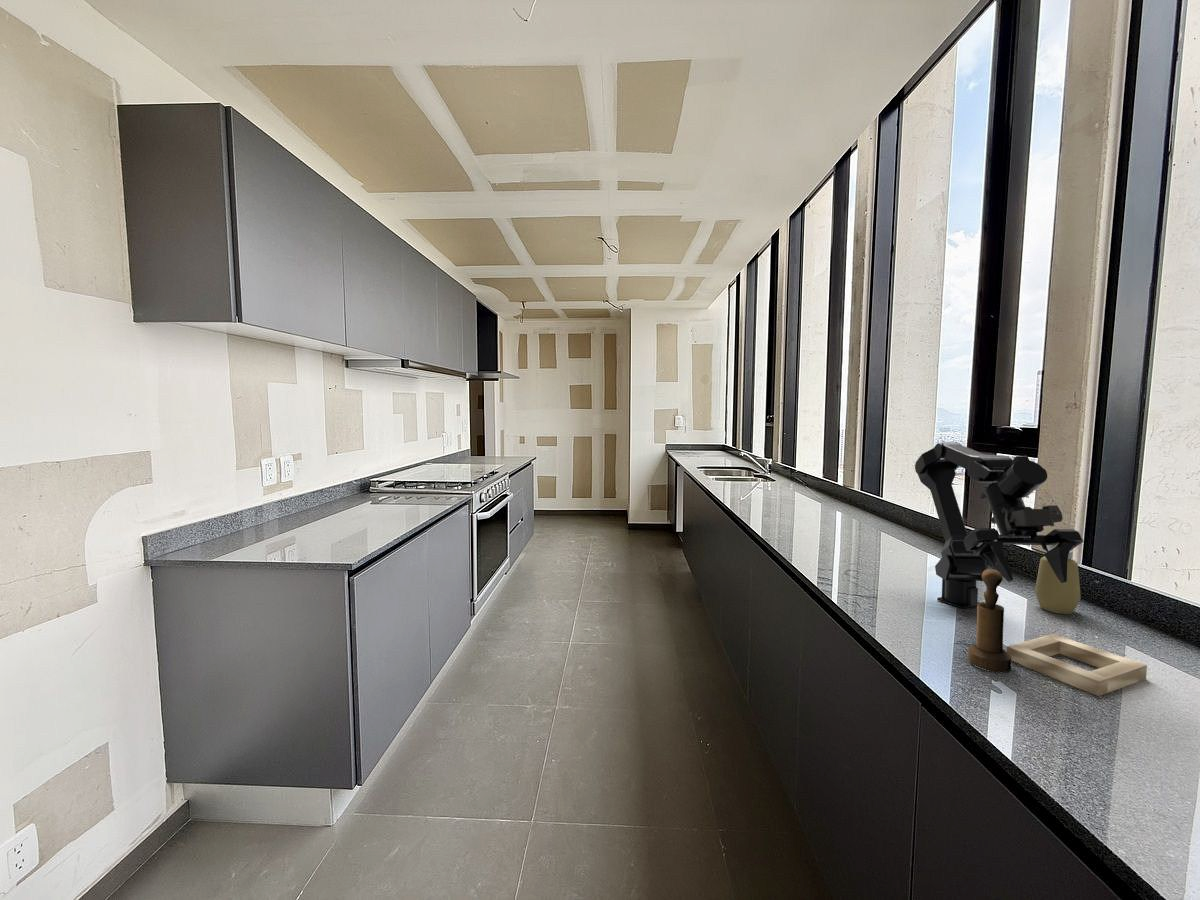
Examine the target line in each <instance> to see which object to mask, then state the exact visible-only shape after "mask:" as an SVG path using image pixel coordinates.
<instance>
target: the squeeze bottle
mask: <svg viewBox="0 0 1200 900" xmlns="http://www.w3.org/2000/svg"><path fill="white" fill-rule="evenodd" d="M1045 553H1047V551H1045ZM1073 554H1074V552H1073V550H1071V551H1070V552H1069V555H1068V561H1067V582H1065V583H1061V582H1060V581H1059V579H1058V578H1057V576H1056V575H1055V573H1054V571H1053V569H1052V568H1051V566H1050V564H1049V562H1048V561H1047V559H1046V557H1045V555H1044V556H1042V557H1041V558H1040V560H1039V565H1038V566H1039V567H1038V570H1037V576H1036V577H1037V578H1036V583H1035V587H1034V593H1035V596H1036V599H1037V601H1038V603H1039V604H1038V605H1039V607H1040V608H1041V609H1043V610H1045V611H1048V612H1051V613H1056V614H1064V615H1070V614H1073V613H1074V611H1076V608H1077V607H1078V604H1079V603H1080V601H1081V599H1082V597H1081V587H1080V585H1081V584H1080V574H1079V573H1080V572H1079V563H1078V562H1077V561H1075V560H1074V559H1073Z"/></svg>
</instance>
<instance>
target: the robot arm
mask: <svg viewBox="0 0 1200 900" xmlns="http://www.w3.org/2000/svg"><path fill="white" fill-rule="evenodd" d="M959 467H961V468H963V469H965V470H967V475H968V477H970V478H971V479H972V480H973V481H974V482H976V483H990V484H989V485H988V486H985V487H983V491H982V493H980V497H979V498H980V500H987V504H988V506H989V509H990V511H991V513H992V517H991V518H990V521H991V524H995V525H996V527H997V529H996V528H995V527H994V528H992V527H991V528H990V527H989V528H987V527H985V528H984V527H979V528H978V527H975V528H974V529H973V530H972V531H971V532H970V533H968V531H967V528H966V525H965V522H964V518H963V517H962V513H961V510H960V507H959V504H958V501H957V497H956V494H955V491H954V487H953V482H954V479H955V477H956V475H957V473H956V471H957V469H959ZM914 471H915V473H916V474H917V476H918V478H919V481H920V483H921V484H922V485H924V486H925V487H926V488H927V489H929V490H930V494H931V497H932V500H933V504H934V506H935V511H936V513H937V518H938V520H939V524H940V527H941V531H942V534H943V537H944V541H945V542H944V545H943V547H942V549H941V552H940V554H941V558H940V560H938V562H937V563H936V564H935V566H934V569H935V575H936V576H937V577H939V578H941V596H940V597H937V601H940V602H943V603H945V604H947V605H951V606H954V607H957V608H959V609H967V608H971V607H976V606H977V604H978V603H981V602H980V601H978V598H979V596H978V594H979V588H978V587H977V582H984V581H983V579H982V573H983V572H984V571H985V570H986V569H988V564H989V565H990V566H991V567H993V569H994V570H997V571H999V572H1000V573H1001V575H1002V578H1004V579H1005V580H1006V581H1007V582H1008V583H1011V582H1013V581H1014V577H1013V573H1012V570H1011V568H1010V565H1009V563H1008V561H1007V558H1006V556H1005V554H1004V553H1005V552H1004V545H1005V546H1006V545H1011V546H1014V545H1016V546H1018V545H1019V546H1020V545H1021V546H1041V547H1042V550H1044V551H1045V553H1044V554H1043V555H1044V556H1045V557H1046V559H1047V561H1048V562H1049V564H1050V566H1051V568H1052V569H1053V571H1054V573H1055V575H1056V576H1057V578H1058V579H1059V581H1060V582H1061V583H1065V582H1067V561H1068V555H1069V552H1070V551H1073V550H1074V549H1075V548H1077V547H1078V546H1079V545H1081V544H1082V543H1084V538H1083V537H1082V535H1081V533H1080V532H1079V531H1078V530H1076V529H1073V528H1072V529H1071V528H1069V529H1068V528H1053V529H1052V530H1051V531H1049V532H1048V533H1047V534H1038V533H1041V532H1043V531H1044V530H1045V528H1044V527H1048V526H1050V527H1055V523H1060V522H1062V521H1063V519H1064V516H1063V513H1062V511H1061V509H1060V507H1059V506H1058V505H1043V506H1042V507H1041V508H1033V507H1031V506H1026V505H1025V503H1024V499H1023V498H1027V497H1029V496H1030V495H1031V494H1032V493H1033V492H1034V491H1035V490H1036V489H1038V488H1039V487H1040V486H1042V484H1043V483H1045V482H1046V481H1047V480H1048V472H1047V470H1046V468H1044V467H1043V466H1042V465H1041V464H1039V463H1037V462H1036V461H1034V460H1033V461H1032V460H1030V458H1029V456H1028V455H1016V456H1015V457H1014V458H1012V457H1010V456H1009V455H1001V454H1000V455H997V454H985V453H983V452H979V451H977V450H974V449H973V448H970V447H967V446H965V445H962V443H960V442H959V443H958V442H956V441H955V442H953V441H952V442H951V441H950V442H948V441H947V442H945V441H944V442H942V441H941V442H938V443H936V445H935V446H934V447H933V448H931V449H929V450H927V451H925V452H923V453H922V454H921V455H920V456H919V457H918V459H917V460H916V461H915V465H914ZM1046 551H1047V553H1046Z"/></svg>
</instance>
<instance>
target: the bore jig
mask: <svg viewBox="0 0 1200 900" xmlns="http://www.w3.org/2000/svg"><path fill="white" fill-rule="evenodd" d="M1006 652H1007V653H1009V654H1010V656H1011V660H1012V661H1011V662H1013V661H1015V662H1017V663H1019V664H1018V665H1020V664H1021V665H1020V666H1022V665H1023V667H1025V668H1027V667H1028V668H1027V669H1030V670H1032V669H1033V671H1035V672H1038V673H1040V674H1042V673H1043V675H1045V676H1047V675H1048V676H1047V677H1050V678H1052V679H1055V680H1058V681H1060V682H1063V683H1065V684H1068V685H1070V686H1073V687H1075V688H1078V689H1079V690H1081V691H1082V690H1083V691H1085V692H1086V693H1090V694H1092V695H1095V696H1097V697H1100V696H1102V695H1105V694H1108V693H1111V692H1114V691H1117V690H1119V689H1122V688H1125V687H1128V686H1130V685H1133V684H1136V683H1139V682H1142V681H1144V680H1147V673H1148V672H1147V671H1148V665H1147V664H1145V663H1143V662H1142V663H1141V662H1138V661H1135V660H1133V659H1129V658H1128V657H1127V658H1126V657H1123V656H1120V655H1118V654H1115V653H1111V652H1108V651H1105V650H1103V649H1099V648H1096V647H1094V646H1090V645H1088V644H1085V643H1081V642H1078V641H1076V640H1073V639H1070V638H1066V637H1064V636H1062V635H1058V634H1056V633H1052V634H1047V635H1044V636H1041V637H1036V638H1033V639H1029V640H1025V641H1021V642H1017V643H1015V644H1014V643H1013V644H1011V645H1007V646H1006ZM1059 654H1060V655H1062V656H1065V657H1068V658H1071V659H1073V660H1077V661H1078V662H1081V663H1084V664H1088V665H1090V666H1093V667H1095V668H1097V669H1093V670H1090V671H1089V670H1086V669H1084V668H1081V667H1078V666H1076V665H1074V664H1070V663H1067V662H1065V661H1062V660H1060V659H1058V658H1054V657H1052V656H1055V655H1059ZM1049 656H1050V657H1049ZM1015 662H1014V663H1015ZM1017 663H1016V664H1017Z"/></svg>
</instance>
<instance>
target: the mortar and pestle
mask: <svg viewBox="0 0 1200 900" xmlns="http://www.w3.org/2000/svg"><path fill="white" fill-rule="evenodd" d="M982 579H983V581H982V582H984V585H985V586H986V590H985V591H984V592H983V599H984V601H985V602H980V603H978V604H977V607H976V610H977V611H976V613H977V614H976V615H977V617H976V643H973V644H972V645H970V646H968V647H967V661H968V660H969V661H970V662H971V663H972V664H974V665H976V666H978V667H980V668H983V669H986V670H989V671H988V672H991V671H993V673H1000V672H1003V673H1007V672H1010V671H1011V670H1012V661H1011V656H1010V654H1009V653H1007V650H1005V649H1004V647H1003V646H1004V644H1003V643H1004V621H1005V616H1004V615H1005V607H1004V606H1002V605H1000V604H997V603H998V599H999V597H1000V594H999V593H997V588H998V587H999V586H1000V584H1001V583H1002V581H1003V576H1002V575H1001V573H1000V572H999V571H997V570H996V569H995V568H993V569H992V568H987V569H986V570H985V571H984V572H983V573H982ZM969 661H968V662H969ZM970 662H969V663H970ZM971 663H970V664H971ZM972 664H971V665H972ZM974 665H973V666H974ZM976 666H975V667H976ZM978 667H977V668H978ZM980 668H979V669H980ZM983 669H982V670H983ZM986 670H985V671H986Z"/></svg>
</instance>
